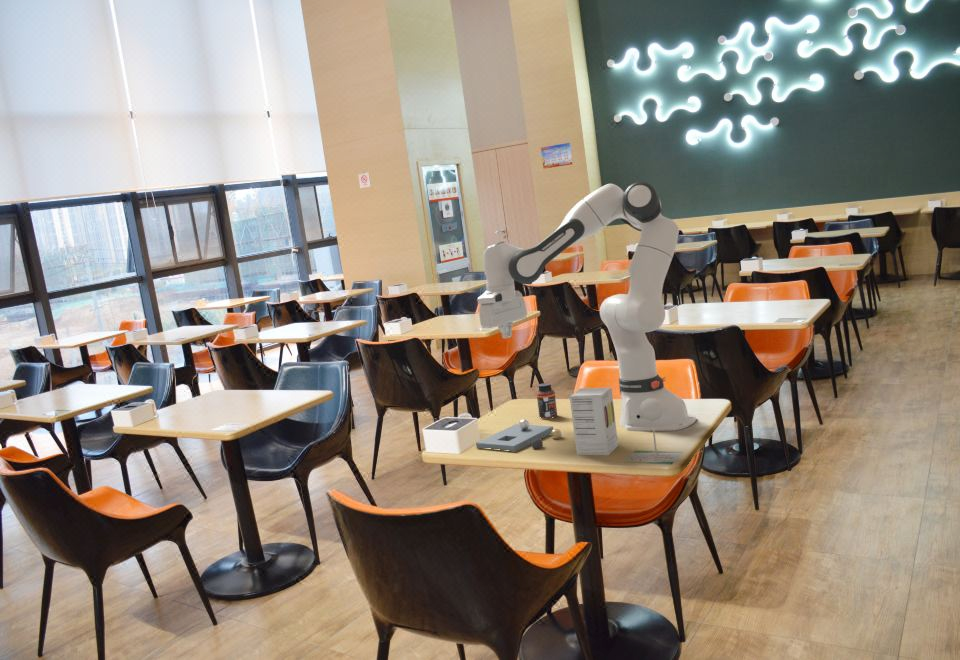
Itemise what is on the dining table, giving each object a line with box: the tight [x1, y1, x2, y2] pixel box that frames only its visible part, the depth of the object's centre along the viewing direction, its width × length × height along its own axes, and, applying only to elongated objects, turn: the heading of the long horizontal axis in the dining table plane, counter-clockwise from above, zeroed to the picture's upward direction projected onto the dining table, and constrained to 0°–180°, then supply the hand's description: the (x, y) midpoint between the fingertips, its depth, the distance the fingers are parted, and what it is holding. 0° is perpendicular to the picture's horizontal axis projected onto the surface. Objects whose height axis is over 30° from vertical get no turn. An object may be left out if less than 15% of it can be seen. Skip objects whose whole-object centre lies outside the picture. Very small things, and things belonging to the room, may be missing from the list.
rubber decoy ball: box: [531, 439, 544, 450], centre depth 227 cm, size 3×3×3 cm
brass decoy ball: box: [550, 428, 563, 440], centre depth 234 cm, size 3×3×3 cm
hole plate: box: [475, 423, 554, 452], centre depth 237 cm, size 20×14×2 cm
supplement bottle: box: [536, 382, 558, 419], centre depth 260 cm, size 6×6×11 cm
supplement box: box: [569, 386, 619, 456], centre depth 217 cm, size 10×9×17 cm
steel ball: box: [518, 419, 530, 430], centre depth 240 cm, size 3×3×3 cm
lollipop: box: [639, 398, 663, 455], centre depth 207 cm, size 6×6×15 cm
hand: (507, 337), depth 252 cm, fingers closed
